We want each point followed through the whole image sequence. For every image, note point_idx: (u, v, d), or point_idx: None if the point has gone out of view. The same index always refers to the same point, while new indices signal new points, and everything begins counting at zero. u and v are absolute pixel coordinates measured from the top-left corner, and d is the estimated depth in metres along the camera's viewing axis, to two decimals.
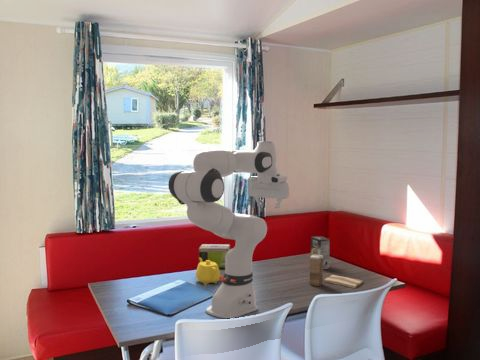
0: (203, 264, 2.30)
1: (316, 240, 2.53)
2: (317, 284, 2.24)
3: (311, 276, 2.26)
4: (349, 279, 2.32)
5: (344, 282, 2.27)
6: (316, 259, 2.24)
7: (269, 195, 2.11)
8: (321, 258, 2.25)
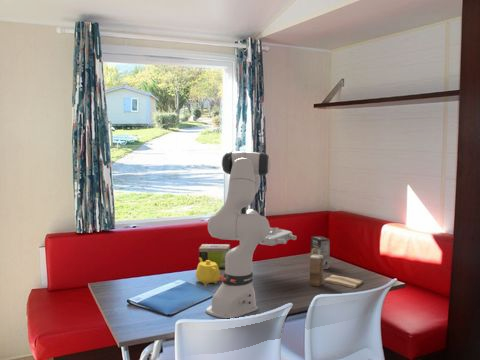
0: (203, 264, 2.30)
1: (316, 240, 2.53)
2: (317, 284, 2.24)
3: (311, 276, 2.26)
4: (349, 279, 2.32)
5: (344, 282, 2.27)
6: (316, 259, 2.24)
7: (282, 234, 2.38)
8: (321, 258, 2.25)
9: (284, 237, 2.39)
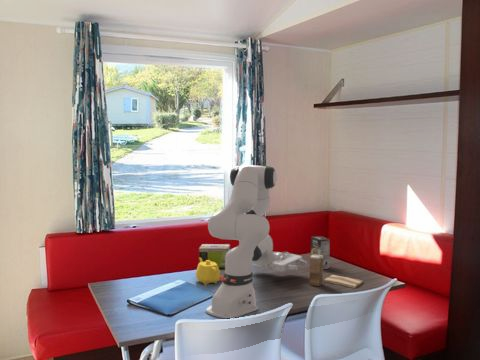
0: (203, 264, 2.30)
1: (316, 240, 2.53)
2: (317, 284, 2.24)
3: (311, 276, 2.26)
4: (349, 279, 2.32)
5: (344, 282, 2.27)
6: (316, 259, 2.24)
7: (293, 259, 2.36)
8: (321, 258, 2.25)
9: (294, 262, 2.36)
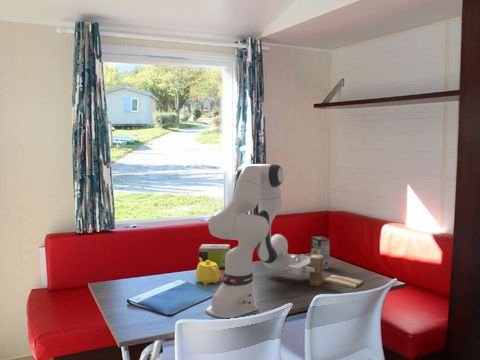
0: (203, 264, 2.30)
1: (316, 240, 2.53)
2: (317, 284, 2.24)
3: (311, 276, 2.26)
4: (349, 279, 2.32)
5: (344, 282, 2.27)
6: (316, 259, 2.24)
7: (308, 261, 2.31)
8: (321, 258, 2.25)
9: None
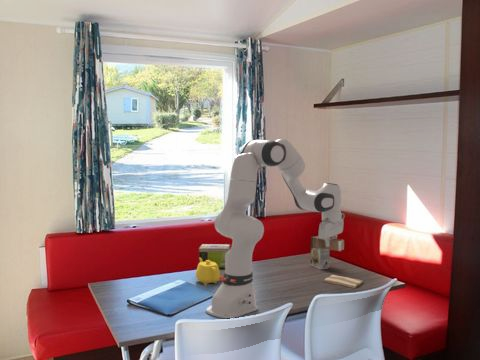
0: (203, 264, 2.30)
1: None
2: (315, 245, 2.30)
3: (321, 240, 2.28)
4: (349, 279, 2.32)
5: (344, 282, 2.27)
6: (337, 248, 2.23)
7: (336, 232, 2.27)
8: None
9: None
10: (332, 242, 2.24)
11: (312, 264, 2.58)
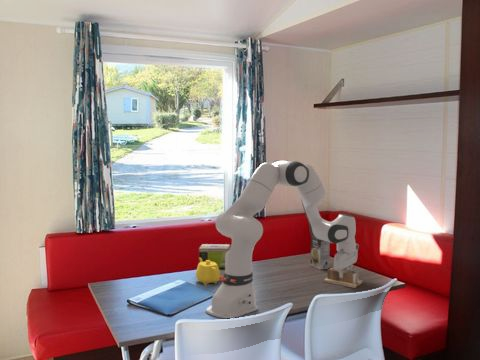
0: (203, 264, 2.30)
1: (316, 240, 2.53)
2: (329, 277, 2.33)
3: (335, 272, 2.30)
4: None
5: (344, 282, 2.27)
6: (352, 281, 2.26)
7: (350, 263, 2.30)
8: None
9: None
10: (347, 275, 2.27)
11: (312, 264, 2.58)
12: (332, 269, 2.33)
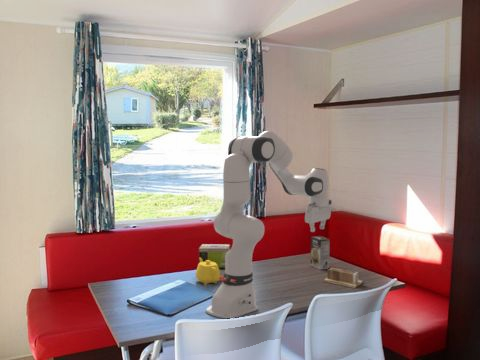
0: (203, 264, 2.30)
1: (316, 240, 2.53)
2: (329, 277, 2.33)
3: (335, 272, 2.30)
4: None
5: (344, 282, 2.27)
6: (352, 281, 2.26)
7: (323, 218, 2.30)
8: None
9: None
10: (347, 275, 2.27)
11: (312, 264, 2.58)
12: (332, 269, 2.33)
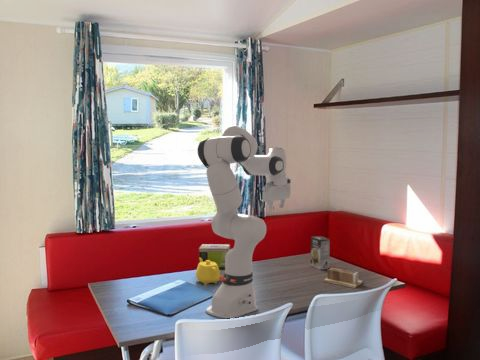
0: (203, 264, 2.30)
1: (316, 240, 2.53)
2: (329, 277, 2.33)
3: (335, 272, 2.30)
4: None
5: (344, 282, 2.27)
6: (352, 281, 2.26)
7: (281, 197, 2.32)
8: None
9: None
10: (347, 275, 2.27)
11: (312, 264, 2.58)
12: (332, 269, 2.33)
